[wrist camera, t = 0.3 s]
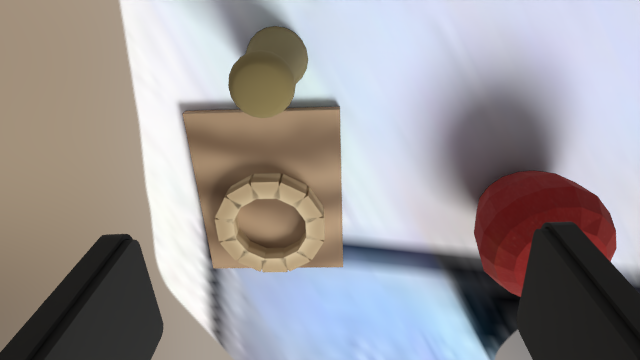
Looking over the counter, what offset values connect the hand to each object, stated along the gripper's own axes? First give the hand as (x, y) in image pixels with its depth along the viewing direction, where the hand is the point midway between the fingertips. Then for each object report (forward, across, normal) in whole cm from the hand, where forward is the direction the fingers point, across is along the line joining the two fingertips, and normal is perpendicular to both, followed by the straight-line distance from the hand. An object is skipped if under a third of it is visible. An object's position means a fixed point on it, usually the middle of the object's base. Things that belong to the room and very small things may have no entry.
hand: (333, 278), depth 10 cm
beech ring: (+34, +8, +19) cm, 40 cm away
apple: (+35, -19, +18) cm, 43 cm away
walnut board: (+34, +8, +16) cm, 39 cm away
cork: (+34, +6, +1) cm, 35 cm away
